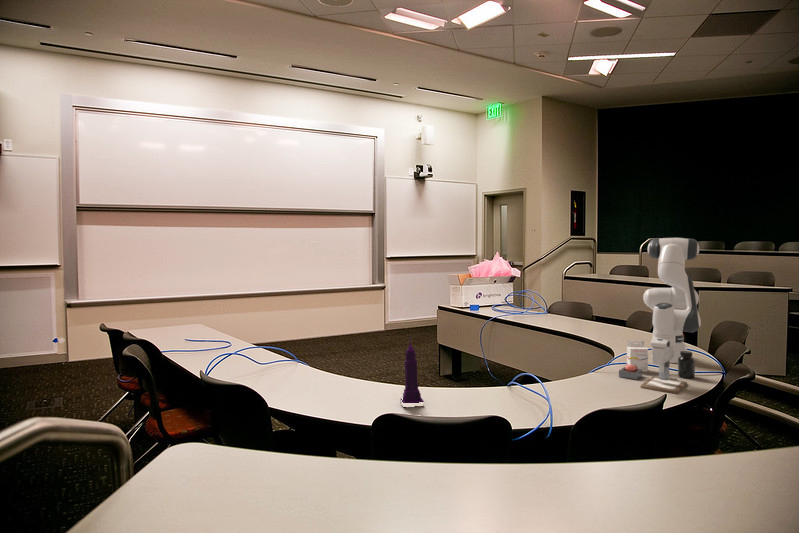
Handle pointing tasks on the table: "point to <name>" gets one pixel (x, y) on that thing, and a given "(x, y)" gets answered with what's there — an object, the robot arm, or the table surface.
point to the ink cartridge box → (637, 355)
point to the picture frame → (664, 385)
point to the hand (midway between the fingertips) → (664, 370)
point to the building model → (411, 378)
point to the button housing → (630, 374)
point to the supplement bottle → (686, 365)
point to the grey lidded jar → (666, 374)
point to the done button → (630, 368)
